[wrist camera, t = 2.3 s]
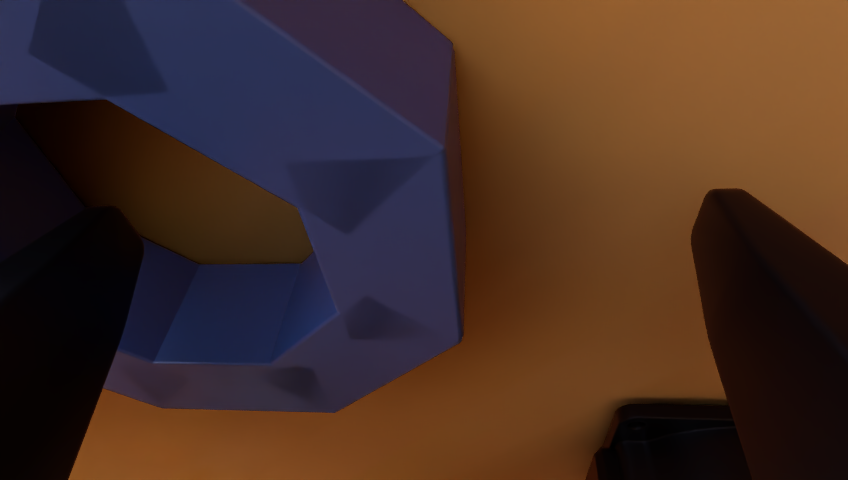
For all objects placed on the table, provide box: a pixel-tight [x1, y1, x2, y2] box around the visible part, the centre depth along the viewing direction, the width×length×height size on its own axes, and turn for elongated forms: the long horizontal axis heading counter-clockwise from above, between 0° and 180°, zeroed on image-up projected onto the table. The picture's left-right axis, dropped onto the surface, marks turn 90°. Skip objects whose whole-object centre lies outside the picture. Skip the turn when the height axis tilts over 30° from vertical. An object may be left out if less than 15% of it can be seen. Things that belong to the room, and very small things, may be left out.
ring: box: [0, 0, 466, 413], centre depth 9 cm, size 10×10×2 cm
